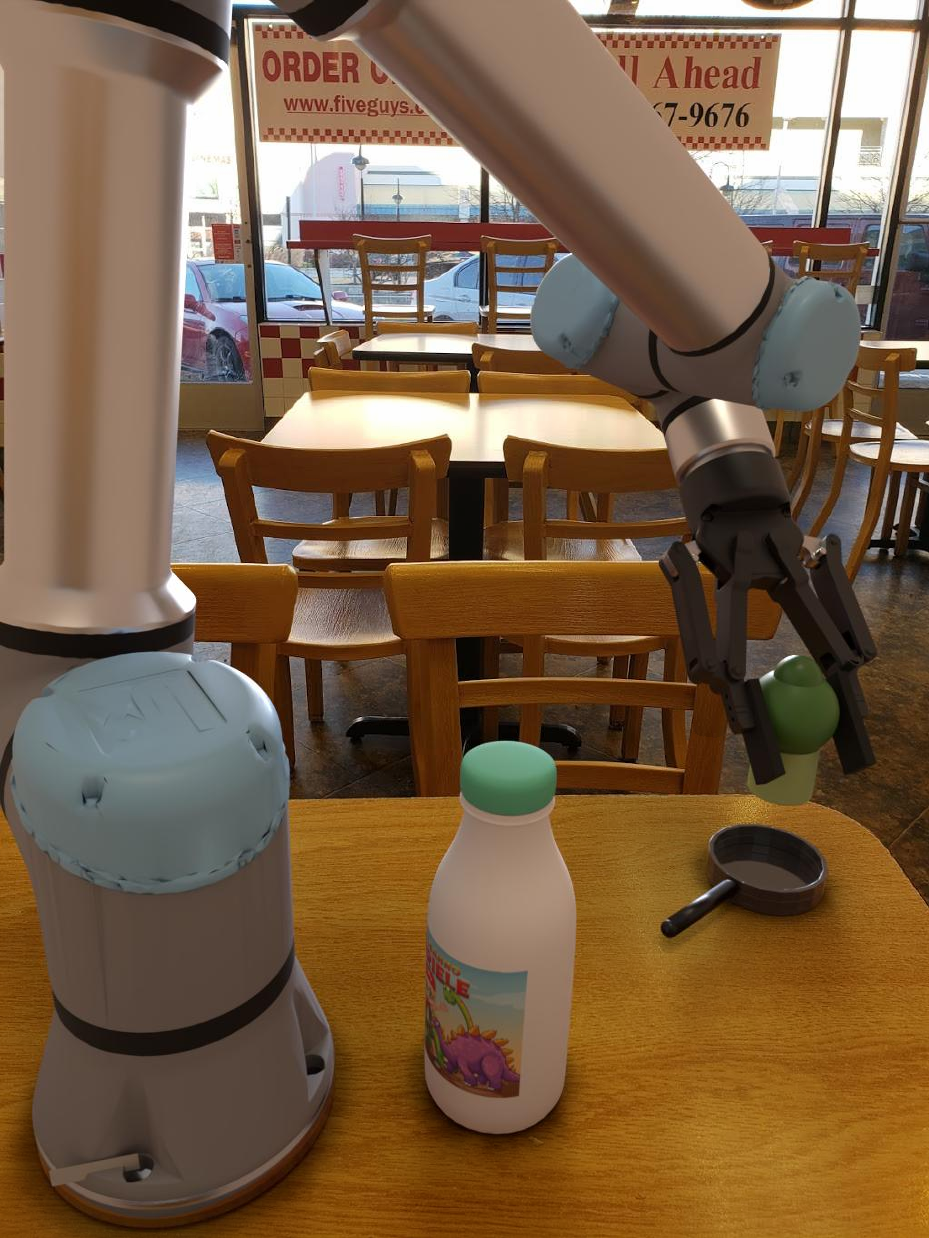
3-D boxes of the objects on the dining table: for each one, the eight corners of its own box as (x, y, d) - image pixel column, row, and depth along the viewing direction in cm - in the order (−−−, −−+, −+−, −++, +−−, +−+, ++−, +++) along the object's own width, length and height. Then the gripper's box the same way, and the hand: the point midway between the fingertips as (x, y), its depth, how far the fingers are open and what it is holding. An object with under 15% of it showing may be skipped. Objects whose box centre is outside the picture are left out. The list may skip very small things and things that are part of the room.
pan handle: (655, 934, 62) (657, 919, 61) (725, 887, 67) (727, 873, 66) (670, 944, 61) (672, 929, 61) (739, 896, 66) (742, 882, 65)
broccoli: (718, 785, 67) (736, 654, 63) (765, 758, 70) (785, 632, 67) (794, 823, 62) (818, 684, 59) (840, 792, 66) (866, 660, 62)
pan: (682, 873, 69) (685, 850, 69) (747, 833, 74) (750, 811, 74) (782, 932, 64) (787, 908, 63) (845, 884, 69) (849, 861, 68)
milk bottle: (509, 1006, 57) (525, 709, 50) (593, 1096, 51) (625, 775, 44) (398, 1060, 53) (397, 746, 45) (475, 1165, 47) (488, 824, 40)
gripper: (813, 495, 76) (906, 774, 67) (593, 504, 72) (662, 802, 63) (865, 442, 69) (976, 744, 61) (625, 449, 65) (707, 774, 56)
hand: (815, 773), depth 62 cm, fingers closed on broccoli, 6 cm apart
